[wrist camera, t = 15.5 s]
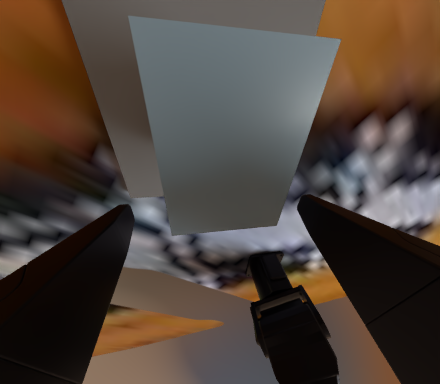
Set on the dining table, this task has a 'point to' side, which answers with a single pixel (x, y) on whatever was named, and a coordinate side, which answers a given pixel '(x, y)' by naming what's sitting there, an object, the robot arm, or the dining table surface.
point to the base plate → (129, 72)
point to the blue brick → (228, 117)
